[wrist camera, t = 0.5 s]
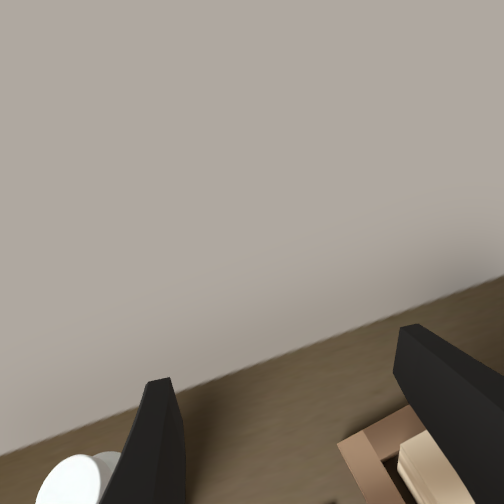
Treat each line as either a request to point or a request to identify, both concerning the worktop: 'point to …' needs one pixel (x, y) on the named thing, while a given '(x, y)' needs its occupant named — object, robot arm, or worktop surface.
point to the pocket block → (379, 454)
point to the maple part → (430, 473)
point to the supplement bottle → (79, 479)
